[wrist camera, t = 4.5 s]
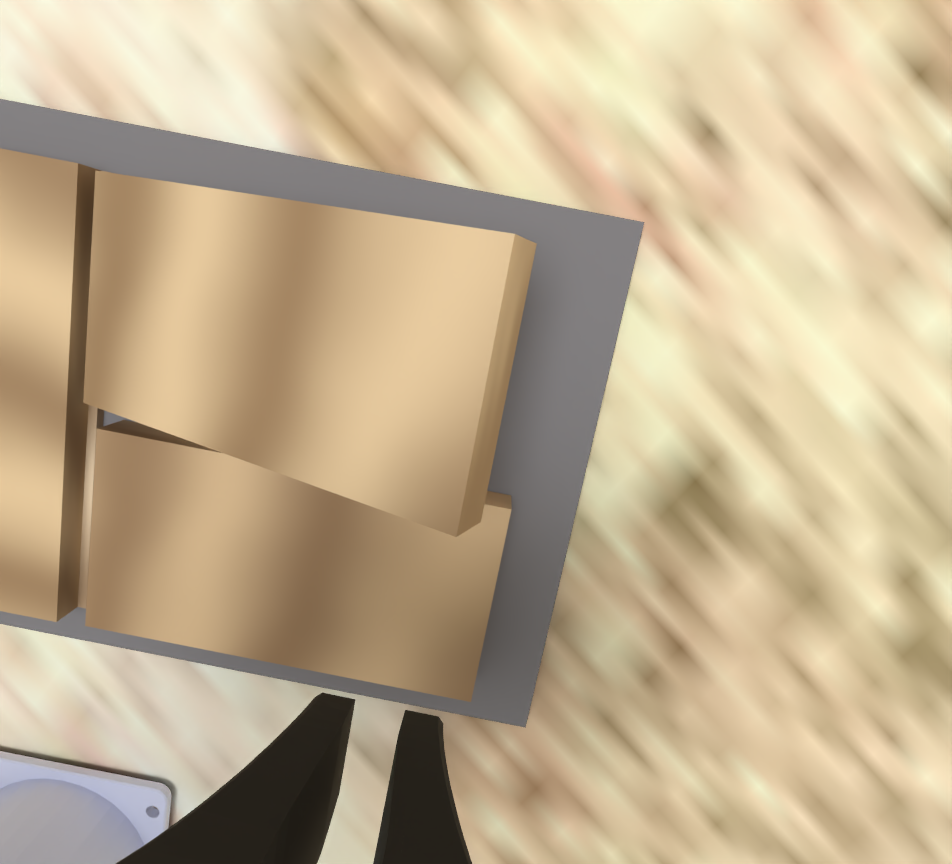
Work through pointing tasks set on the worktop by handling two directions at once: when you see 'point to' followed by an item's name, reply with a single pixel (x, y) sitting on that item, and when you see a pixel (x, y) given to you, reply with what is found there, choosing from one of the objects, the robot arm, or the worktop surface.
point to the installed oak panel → (45, 385)
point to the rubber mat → (529, 391)
